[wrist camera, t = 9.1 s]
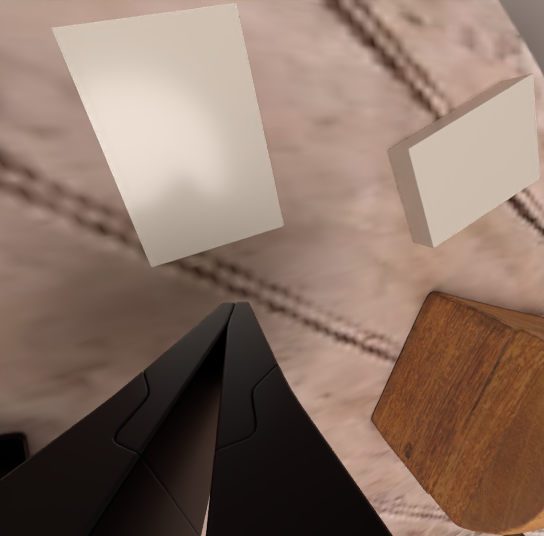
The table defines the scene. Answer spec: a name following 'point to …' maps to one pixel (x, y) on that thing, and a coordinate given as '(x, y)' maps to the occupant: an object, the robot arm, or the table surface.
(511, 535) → the wooden tray
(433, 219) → the white rectangular block
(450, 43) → the table surface
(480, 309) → the wooden box
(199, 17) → the flat tile
